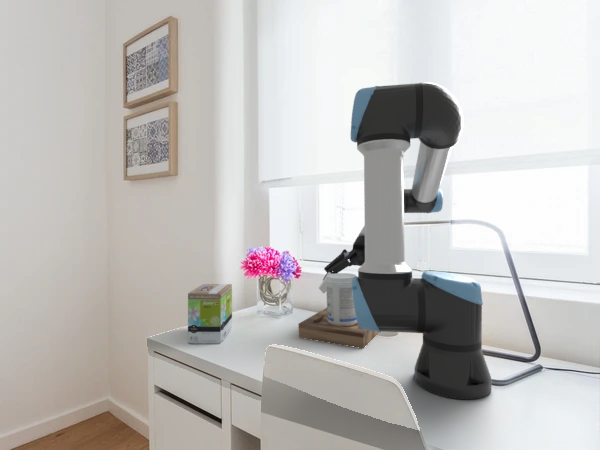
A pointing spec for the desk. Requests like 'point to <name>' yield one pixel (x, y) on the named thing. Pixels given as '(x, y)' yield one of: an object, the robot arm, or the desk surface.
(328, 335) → the walnut base
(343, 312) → the supplement tub
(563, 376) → the desk surface
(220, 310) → the tea box
